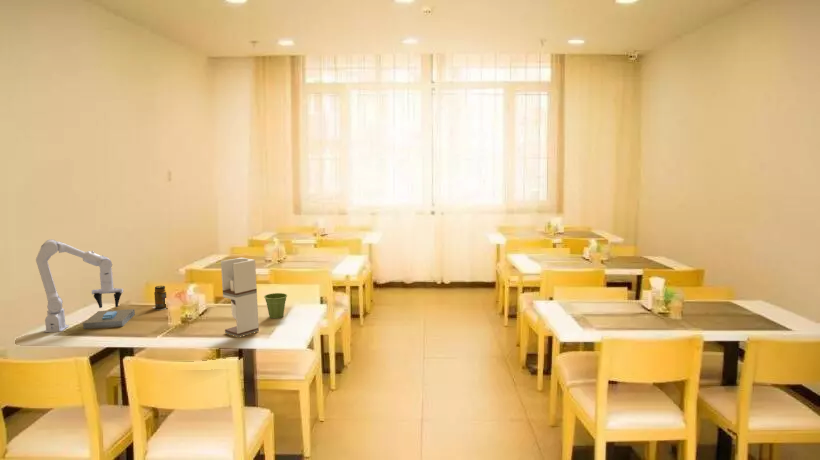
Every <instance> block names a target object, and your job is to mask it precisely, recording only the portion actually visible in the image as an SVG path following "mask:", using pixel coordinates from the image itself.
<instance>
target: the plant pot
mask: <svg viewBox="0 0 820 460" xmlns="http://www.w3.org/2000/svg"><path fill="white" fill-rule="evenodd" d="M287 297H288V294H287V293H282V292H275V293H268V294H265V295H264V296H263V298H264V299H265V300H264V301H265V303H266V306H267V307H266V308H267V312H268V317H269V318H270V319H281V318H283V317H284V314H285V307H286V302H287Z"/></svg>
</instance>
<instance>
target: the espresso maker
mask: <svg viewBox="0 0 820 460" xmlns="http://www.w3.org/2000/svg"><path fill="white" fill-rule="evenodd" d="M220 268H221V271H220V272H221V283H222V284H221V285H222V286H221V287H222V298H225V299H229V300H230V301H231V302H230V303H231V315H232V318H233V319H235V320H236V326H232V327H229V328H226V329H225V330H224V334H225V333H227V334H226V335H228V334H230V335H229V336H231V335H234V336H237V337H240V336H243V335H247V334H250V333H253V334H255V333H254V332H257V331H259V329H260V327H259V311H258V293H257V292H258V291H257V289H258V287H257V271H256V269H257V268H256V259H251V258H246V257H237V258H233V259H232V258H231V259H226V260H220ZM259 332H260V331H259ZM257 333H258V332H257ZM250 335H251V334H250ZM234 336H233V337H234ZM247 336H248V335H247ZM237 337H236V338H237ZM243 337H244V336H243ZM240 338H241V337H240Z"/></svg>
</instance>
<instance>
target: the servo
mask: <svg viewBox="0 0 820 460" xmlns="http://www.w3.org/2000/svg"><path fill="white" fill-rule="evenodd" d="M116 313H117V312H116V311H113V312H107V313H105V314H104V315H103V318H102V319H110V318H113V317H114V316H115V315H116Z"/></svg>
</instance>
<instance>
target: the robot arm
mask: <svg viewBox="0 0 820 460" xmlns="http://www.w3.org/2000/svg"><path fill="white" fill-rule="evenodd" d="M57 252H58V254H61V253H67V254H71V255H73V256H74V257H75V256H76V257H78V258H81V259H82V261H83V262H85V263H87V264H90V265H92V266H95V267H98V268H99V280H100V283H99V284H100V289H98V288H97V289H92V290H91V295H93V298H94V299H95V300H96V303H97V305H98V307H99V309H102V308H103V302H102V298H103V295H102V294H113V297H114V306H115V308H118V307H119V302H120V299H121V295H122V294H124V288H123V287H122V288H117V287H116V288H114V277H113V268H112V266H113V264H112V260H111V259H110V258H109V257H108V256H105V255H103V254H102V255H100V254H98V253H95V251H94V250H88V251H84V250H81V249H79V248H76V247H75V246H72V245H69V244H67V243H64V242H62V241H58V240H57V241H56V240H55V239H47V240H45V241H44V243H43V244H42V245H41V246H40V249H39V251H38V254H37V255H36V258H35V262H36V265H37V269H38V271H39V275H40V278H41V281H42V285H43V288H44V292H45V294H46V300H47V305H46V306H47V310H46V312H47V313H46V315H47V316H46V317H45V319H44V322H45V330H44V332H43V333H54V332H55V333H57V332H63V331H64V330H66V329H67V328H68V327H69V326H70V325H69V324H66V315H65V308H63V298H61V297H60V295H59V293H58V291H57V288H56V284H55V280H54V279H53V278H54V277H53V275H52V272H51V271H52V270H51V268H50V264H49V261H50V259H51V257H53V256H54V255H55V254H56V253H57Z"/></svg>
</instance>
